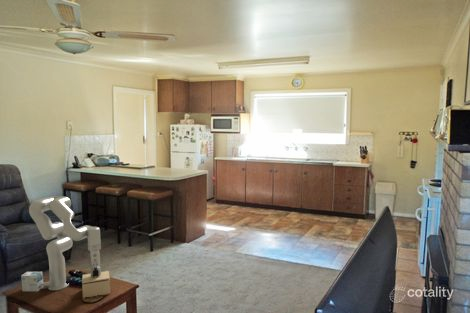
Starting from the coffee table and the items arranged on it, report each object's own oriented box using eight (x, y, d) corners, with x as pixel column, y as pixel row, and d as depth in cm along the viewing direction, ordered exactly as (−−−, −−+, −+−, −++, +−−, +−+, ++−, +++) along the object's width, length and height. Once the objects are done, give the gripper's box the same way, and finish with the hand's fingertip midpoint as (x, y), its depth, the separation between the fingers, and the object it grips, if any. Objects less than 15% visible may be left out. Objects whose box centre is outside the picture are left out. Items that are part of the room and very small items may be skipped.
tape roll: (90, 277, 227) (90, 269, 226) (90, 273, 232) (90, 266, 232) (100, 275, 229) (100, 268, 228) (100, 272, 234) (100, 264, 234)
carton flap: (82, 283, 221) (82, 282, 221) (82, 275, 234) (82, 274, 234) (109, 279, 227) (109, 277, 227) (108, 271, 240) (108, 270, 240)
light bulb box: (43, 287, 239) (43, 271, 238) (37, 291, 232) (36, 275, 231) (28, 286, 240) (27, 271, 239) (21, 291, 233) (20, 275, 232)
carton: (82, 298, 222) (82, 284, 221) (83, 289, 235) (82, 275, 234) (110, 293, 228) (109, 280, 227) (109, 284, 241) (108, 271, 240)
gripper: (101, 250, 222) (102, 278, 224) (100, 241, 238) (101, 268, 240) (87, 251, 219) (89, 280, 221) (88, 243, 235) (89, 270, 237)
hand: (95, 273), depth 230 cm, fingers closed on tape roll, 5 cm apart
